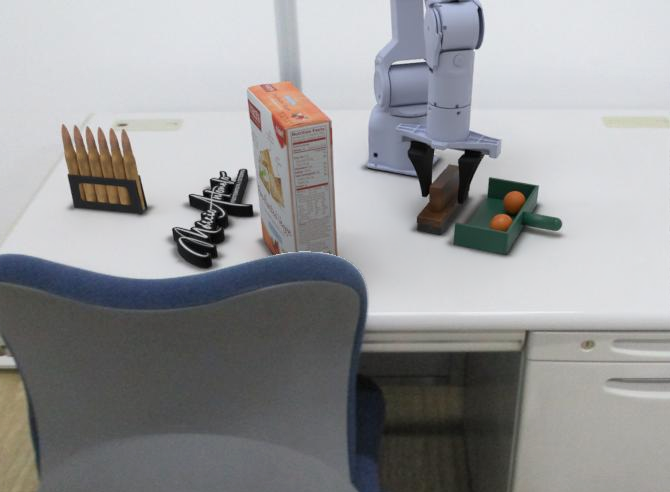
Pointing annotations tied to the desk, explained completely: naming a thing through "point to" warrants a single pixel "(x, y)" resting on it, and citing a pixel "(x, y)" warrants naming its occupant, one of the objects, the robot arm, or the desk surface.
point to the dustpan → (500, 241)
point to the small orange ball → (501, 222)
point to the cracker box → (293, 169)
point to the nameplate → (212, 218)
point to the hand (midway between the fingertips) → (444, 197)
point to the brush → (441, 202)
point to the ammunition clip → (103, 173)
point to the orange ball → (514, 202)
